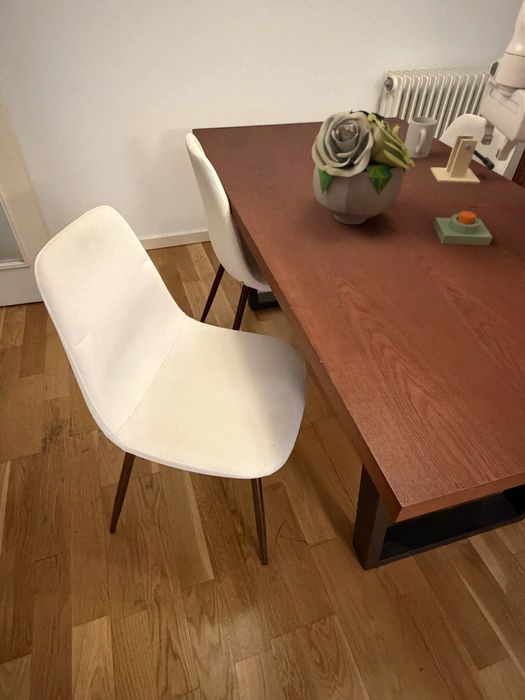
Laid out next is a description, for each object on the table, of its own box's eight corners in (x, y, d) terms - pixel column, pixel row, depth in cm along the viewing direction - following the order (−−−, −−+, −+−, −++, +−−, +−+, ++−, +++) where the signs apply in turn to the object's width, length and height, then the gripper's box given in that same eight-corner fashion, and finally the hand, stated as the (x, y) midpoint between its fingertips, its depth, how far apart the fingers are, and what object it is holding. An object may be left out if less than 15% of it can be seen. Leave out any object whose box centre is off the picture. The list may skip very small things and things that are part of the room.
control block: (476, 227, 101) (483, 212, 98) (488, 245, 95) (496, 230, 92) (432, 225, 101) (437, 210, 99) (441, 243, 95) (447, 228, 92)
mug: (400, 150, 139) (409, 115, 132) (426, 152, 138) (436, 117, 131) (403, 163, 131) (412, 126, 123) (430, 165, 130) (441, 128, 122)
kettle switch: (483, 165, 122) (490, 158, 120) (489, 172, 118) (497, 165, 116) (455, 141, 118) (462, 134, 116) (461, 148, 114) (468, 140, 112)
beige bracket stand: (468, 173, 126) (483, 132, 118) (478, 186, 119) (495, 144, 110) (429, 172, 126) (441, 131, 118) (437, 185, 119) (451, 142, 111)
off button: (470, 218, 97) (473, 211, 95) (475, 225, 94) (478, 218, 93) (455, 217, 97) (458, 210, 96) (459, 224, 94) (462, 217, 93)
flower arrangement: (289, 230, 99) (296, 120, 81) (317, 190, 115) (328, 92, 98) (391, 250, 92) (422, 136, 75) (405, 206, 109) (433, 103, 92)
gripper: (567, 86, 67) (527, 171, 77) (519, 63, 82) (491, 136, 91) (529, 85, 67) (494, 169, 77) (488, 62, 82) (463, 135, 92)
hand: (492, 151), depth 84 cm, fingers open, 8 cm apart
